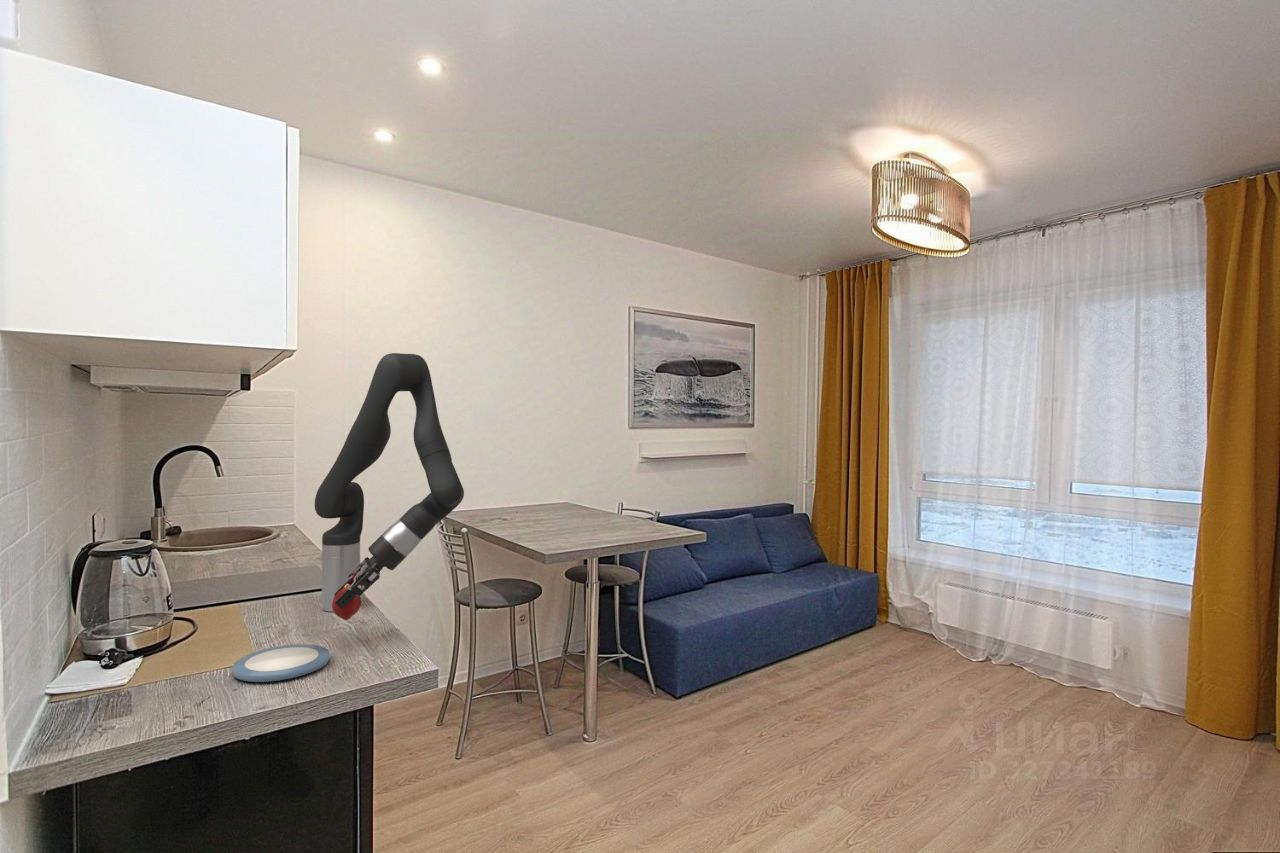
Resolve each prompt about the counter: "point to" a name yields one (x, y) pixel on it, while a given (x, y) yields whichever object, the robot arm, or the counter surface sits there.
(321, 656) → the dish
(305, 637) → the counter surface
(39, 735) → the counter surface
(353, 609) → the onion
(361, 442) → the robot arm
